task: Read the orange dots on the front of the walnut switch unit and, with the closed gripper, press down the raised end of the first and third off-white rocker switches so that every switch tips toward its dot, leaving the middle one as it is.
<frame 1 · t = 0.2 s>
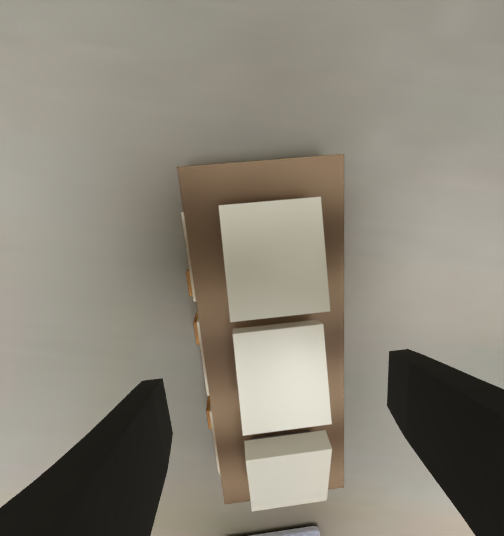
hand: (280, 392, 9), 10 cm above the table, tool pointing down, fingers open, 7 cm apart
switch unit: (268, 331, 19), on the table
switch 2: (281, 375, 14), point 5 cm above the table, hinge at 12.0°
switch 1: (287, 472, 16), point 5 cm above the table, hinge at -12.0°
switch 3: (273, 259, 13), point 5 cm above the table, hinge at 12.0°
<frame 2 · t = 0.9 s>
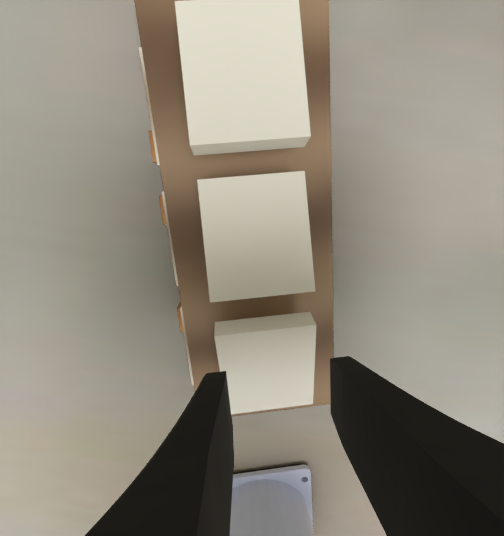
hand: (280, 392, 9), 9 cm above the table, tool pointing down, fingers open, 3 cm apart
switch unit: (249, 227, 17), on the table
switch 2: (256, 237, 12), point 5 cm above the table, hinge at 12.0°
switch 1: (266, 365, 14), point 5 cm above the table, hinge at -12.0°
switch 3: (243, 78, 11), point 5 cm above the table, hinge at 12.0°
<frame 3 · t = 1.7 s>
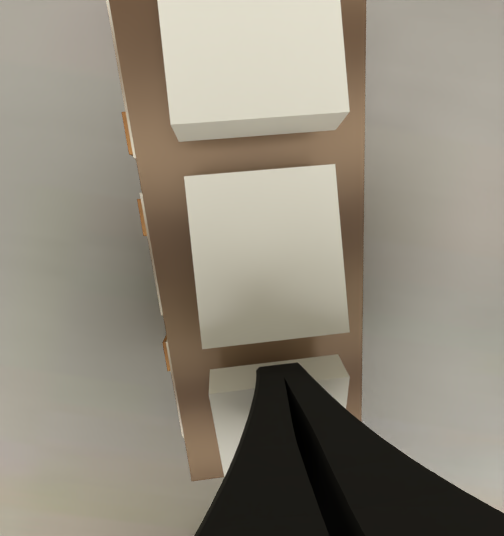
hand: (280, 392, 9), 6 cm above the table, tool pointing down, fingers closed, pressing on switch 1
switch unit: (253, 238, 14), on the table
switch 2: (267, 256, 9), point 5 cm above the table, hinge at 12.0°
switch 1: (279, 423, 10), point 5 cm above the table, hinge at -11.9°, touching gripper
switch 3: (250, 29, 7), point 5 cm above the table, hinge at 12.0°
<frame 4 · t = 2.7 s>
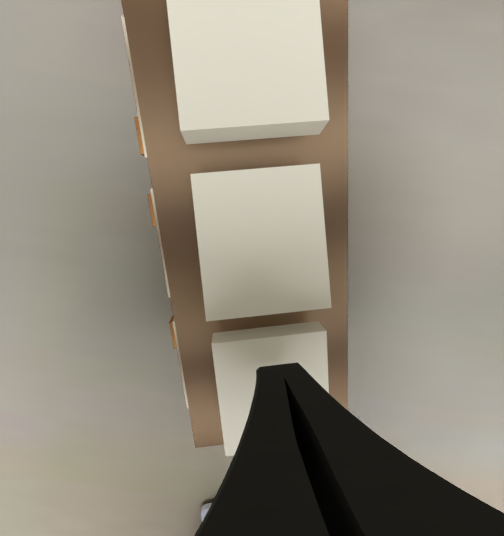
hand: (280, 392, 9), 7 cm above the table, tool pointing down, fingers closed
switch unit: (251, 229, 15), on the table
switch 2: (261, 243, 10), point 5 cm above the table, hinge at 11.3°
switch 1: (272, 388, 12), point 5 cm above the table, hinge at 3.0°
switch 3: (246, 49, 9), point 5 cm above the table, hinge at 12.0°
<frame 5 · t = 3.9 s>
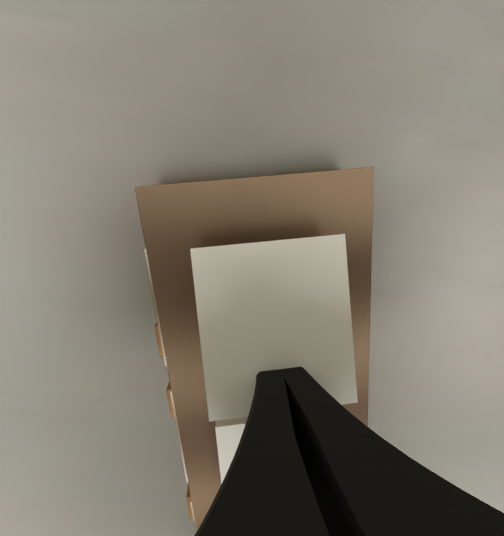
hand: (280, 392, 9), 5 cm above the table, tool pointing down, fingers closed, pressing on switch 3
switch unit: (267, 388, 15), on the table
switch 2: (284, 477, 10), point 5 cm above the table, hinge at 10.5°
switch 3: (274, 323, 9), point 5 cm above the table, hinge at 11.0°, touching gripper
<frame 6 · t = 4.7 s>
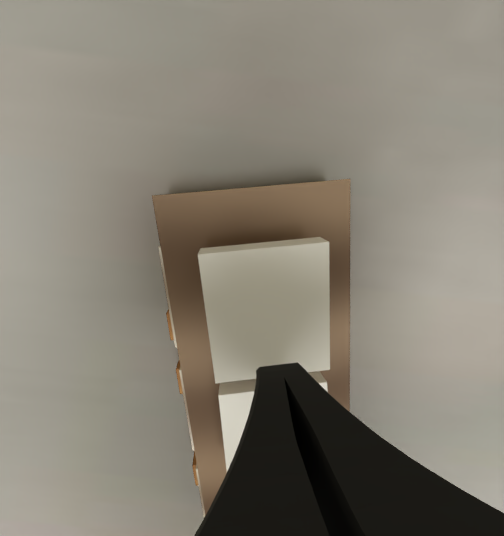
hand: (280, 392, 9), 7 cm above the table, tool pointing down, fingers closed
switch unit: (263, 371, 17), on the table
switch 2: (276, 439, 12), point 5 cm above the table, hinge at 10.1°
switch 3: (267, 310, 11), point 5 cm above the table, hinge at -1.6°
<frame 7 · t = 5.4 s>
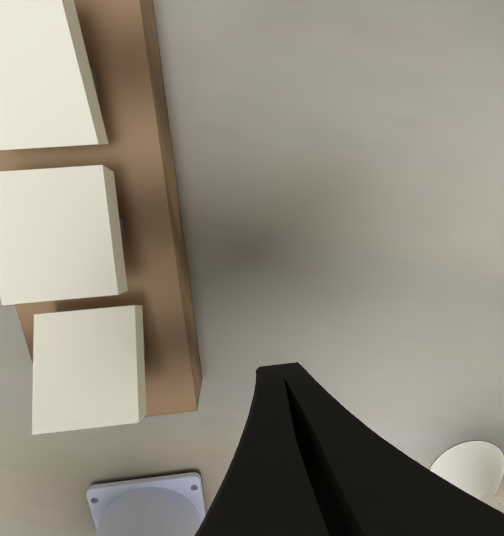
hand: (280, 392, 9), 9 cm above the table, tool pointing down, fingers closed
switch unit: (110, 225, 16), on the table
champagne flute: (464, 472, 23), on the table
switch 2: (59, 236, 11), point 5 cm above the table, hinge at 9.8°
switch 1: (91, 365, 13), point 5 cm above the table, hinge at 22.7°
switch 3: (19, 69, 10), point 5 cm above the table, hinge at -9.9°
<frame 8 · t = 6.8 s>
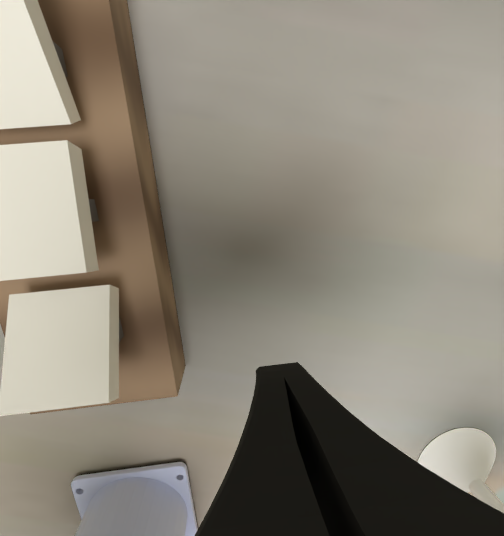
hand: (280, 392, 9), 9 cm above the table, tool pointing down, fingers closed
switch unit: (88, 210, 16), on the table
champagne flute: (454, 460, 23), on the table
switch 2: (26, 214, 11), point 5 cm above the table, hinge at 9.4°
switch 1: (64, 346, 13), point 5 cm above the table, hinge at 27.9°
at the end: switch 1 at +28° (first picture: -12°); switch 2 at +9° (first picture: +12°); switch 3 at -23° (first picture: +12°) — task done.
